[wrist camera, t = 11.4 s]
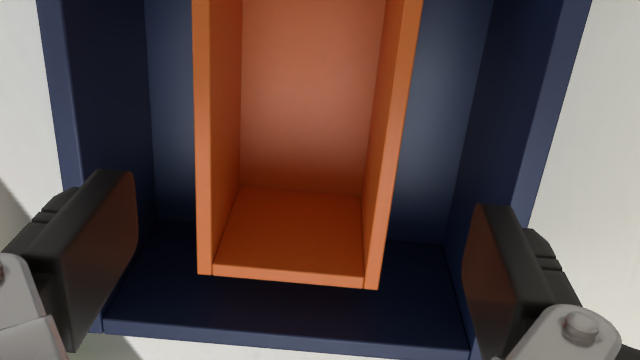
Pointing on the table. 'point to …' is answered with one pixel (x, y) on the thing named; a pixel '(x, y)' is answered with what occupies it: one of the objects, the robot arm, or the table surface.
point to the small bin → (299, 135)
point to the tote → (409, 191)
